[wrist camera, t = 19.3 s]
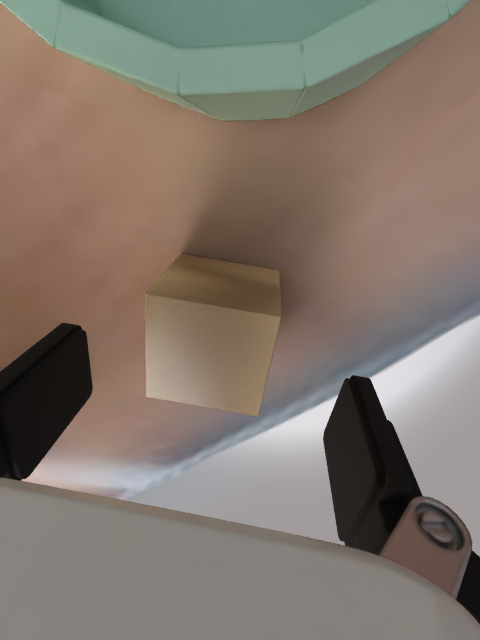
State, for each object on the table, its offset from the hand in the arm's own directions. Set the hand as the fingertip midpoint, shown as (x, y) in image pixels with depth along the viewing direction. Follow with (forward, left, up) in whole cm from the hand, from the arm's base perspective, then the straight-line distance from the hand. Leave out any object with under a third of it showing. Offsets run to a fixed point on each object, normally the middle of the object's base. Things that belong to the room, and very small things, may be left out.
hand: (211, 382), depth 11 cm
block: (0, 0, -6) cm, 6 cm away
